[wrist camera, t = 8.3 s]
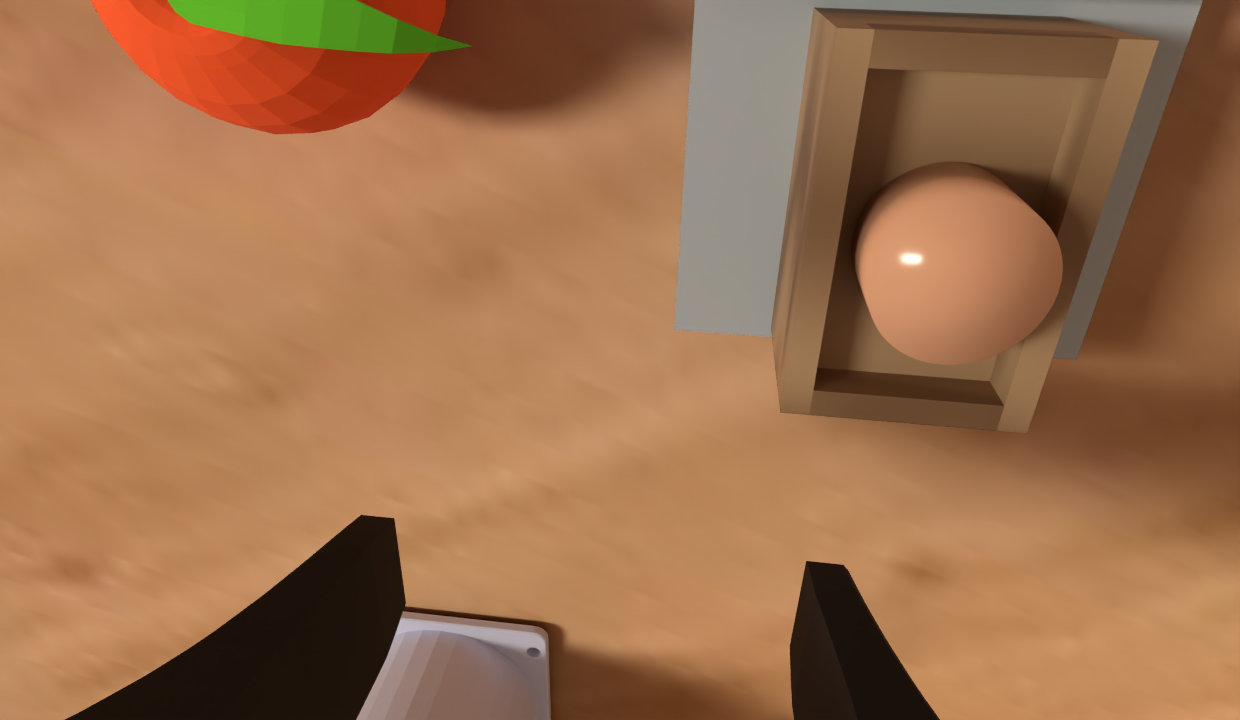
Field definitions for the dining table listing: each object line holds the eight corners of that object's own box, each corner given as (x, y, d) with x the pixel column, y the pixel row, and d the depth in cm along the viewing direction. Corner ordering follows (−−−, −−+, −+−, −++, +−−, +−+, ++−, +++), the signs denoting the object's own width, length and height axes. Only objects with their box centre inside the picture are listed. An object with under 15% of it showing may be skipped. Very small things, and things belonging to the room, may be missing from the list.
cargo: (983, 329, 16) (1015, 380, 14) (831, 299, 16) (844, 346, 14) (1052, 179, 14) (1097, 217, 13) (882, 146, 14) (904, 179, 13)
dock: (1047, 323, 21) (1096, 383, 18) (678, 298, 22) (671, 351, 19) (1169, -53, 17) (1258, -50, 14) (701, -65, 18) (696, -64, 15)
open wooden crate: (973, 343, 19) (1026, 433, 16) (770, 328, 20) (780, 412, 16) (1063, 16, 16) (1159, 40, 12) (813, 7, 16) (836, 27, 13)
